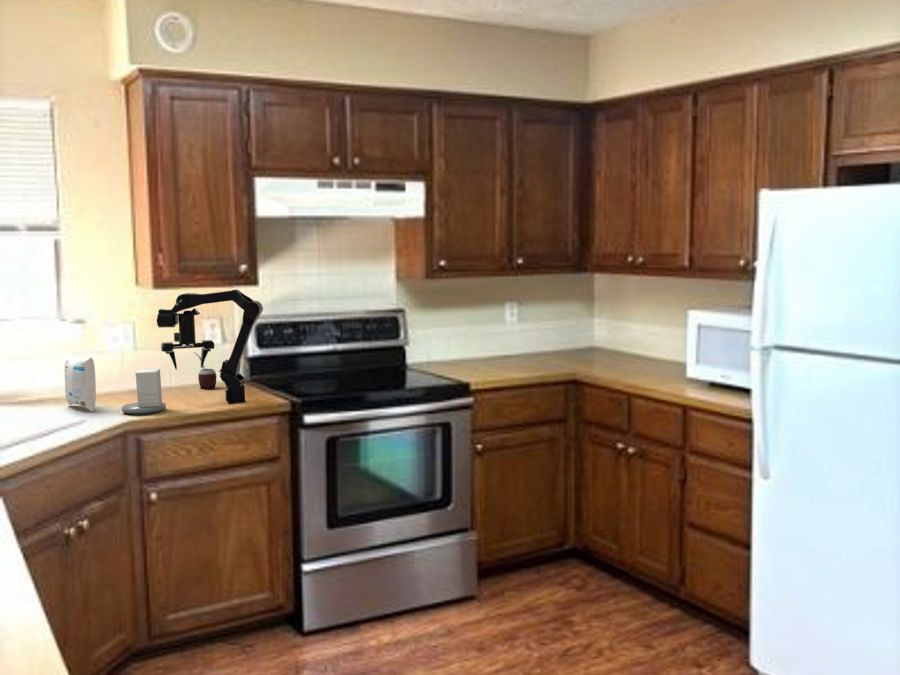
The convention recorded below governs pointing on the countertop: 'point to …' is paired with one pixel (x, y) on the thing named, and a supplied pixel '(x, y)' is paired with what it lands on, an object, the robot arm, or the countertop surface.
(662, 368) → the countertop surface
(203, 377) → the mate gourd
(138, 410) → the dish
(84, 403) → the pouch
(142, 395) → the supplement box
